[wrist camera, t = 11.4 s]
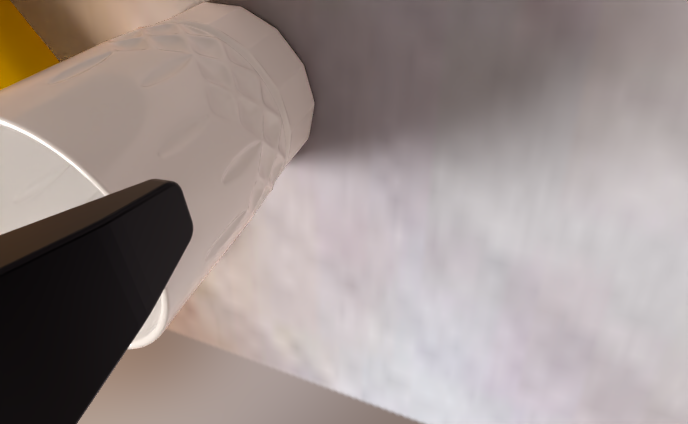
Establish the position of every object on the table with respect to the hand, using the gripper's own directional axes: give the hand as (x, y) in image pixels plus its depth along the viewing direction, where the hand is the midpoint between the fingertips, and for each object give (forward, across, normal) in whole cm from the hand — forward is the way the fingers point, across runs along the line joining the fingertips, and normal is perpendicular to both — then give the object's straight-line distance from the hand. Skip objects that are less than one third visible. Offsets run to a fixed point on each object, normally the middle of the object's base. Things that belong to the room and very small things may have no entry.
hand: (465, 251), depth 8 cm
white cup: (+12, +12, +4) cm, 18 cm away
